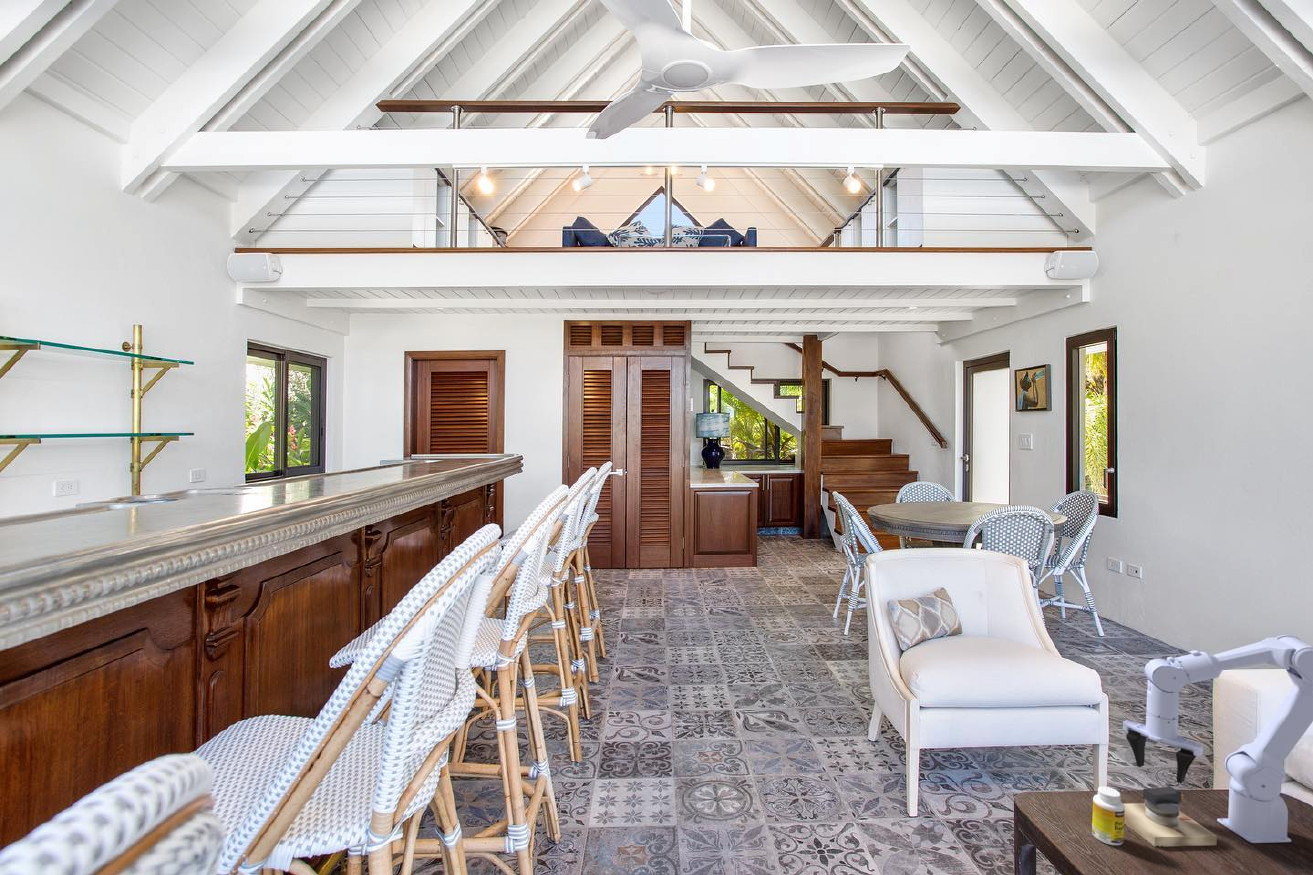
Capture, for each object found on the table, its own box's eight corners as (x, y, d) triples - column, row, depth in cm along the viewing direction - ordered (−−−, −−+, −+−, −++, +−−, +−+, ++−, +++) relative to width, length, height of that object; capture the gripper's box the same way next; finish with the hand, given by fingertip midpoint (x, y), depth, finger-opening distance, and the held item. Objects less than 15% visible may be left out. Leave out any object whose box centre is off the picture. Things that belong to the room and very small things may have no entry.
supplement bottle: (1116, 850, 133) (1118, 801, 133) (1087, 835, 138) (1088, 788, 138) (1128, 841, 136) (1129, 793, 136) (1098, 827, 141) (1100, 781, 141)
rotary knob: (1135, 801, 143) (1136, 784, 143) (1167, 799, 145) (1167, 781, 145) (1160, 818, 137) (1161, 799, 137) (1193, 815, 139) (1194, 797, 139)
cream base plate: (1167, 811, 148) (1167, 793, 147) (1216, 844, 136) (1217, 826, 136) (1109, 812, 146) (1110, 795, 146) (1154, 846, 135) (1155, 827, 134)
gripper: (1117, 705, 150) (1115, 763, 150) (1194, 731, 138) (1192, 793, 138) (1131, 699, 154) (1129, 755, 154) (1207, 723, 142) (1205, 784, 142)
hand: (1160, 773), depth 146 cm, fingers open, 7 cm apart
